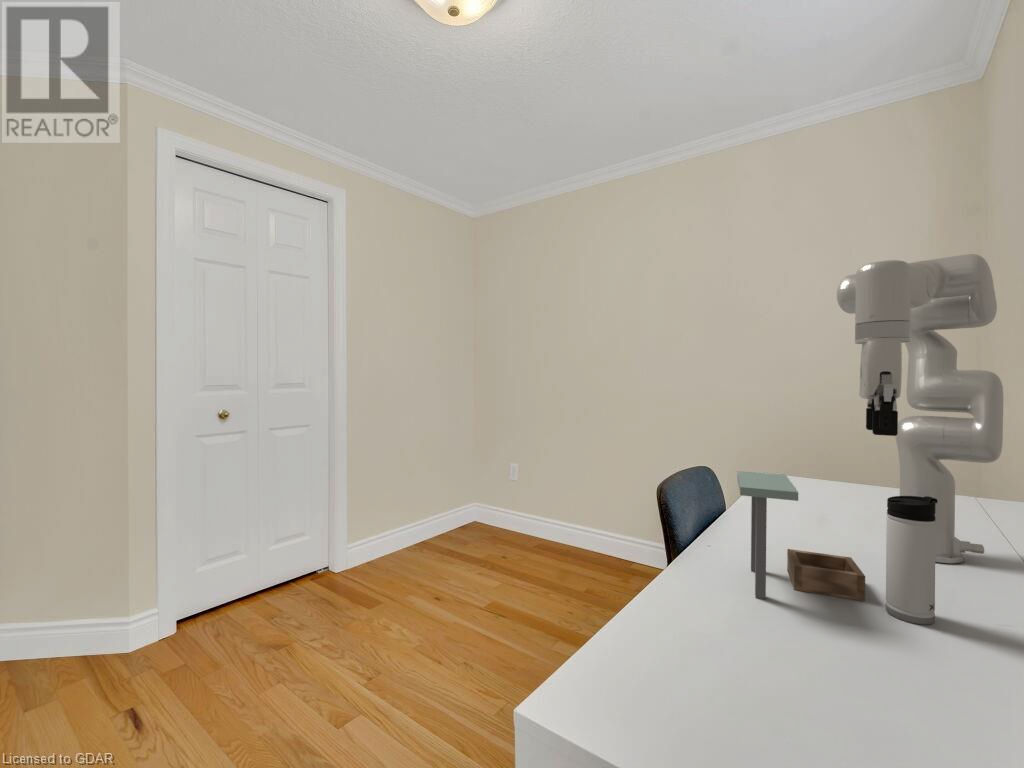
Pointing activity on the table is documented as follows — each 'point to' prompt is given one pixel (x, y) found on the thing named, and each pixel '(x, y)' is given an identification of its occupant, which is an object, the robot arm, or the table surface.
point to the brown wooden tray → (825, 574)
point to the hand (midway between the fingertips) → (880, 432)
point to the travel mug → (911, 558)
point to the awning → (762, 515)
